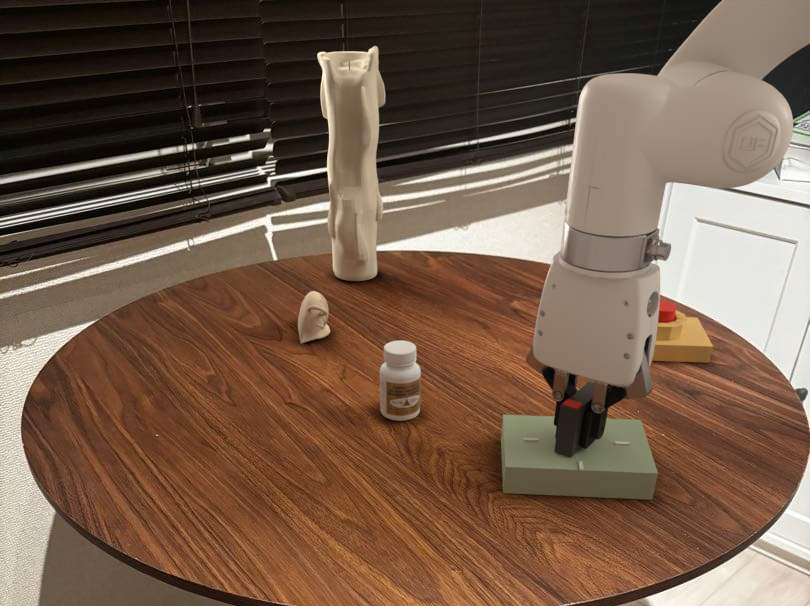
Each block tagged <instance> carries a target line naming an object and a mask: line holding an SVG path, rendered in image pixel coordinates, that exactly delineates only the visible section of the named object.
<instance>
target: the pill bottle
mask: <svg viewBox="0 0 810 606" xmlns="http://www.w3.org/2000/svg"><path fill="white" fill-rule="evenodd" d="M383 361H384V362H383V363H382V364H381V366H380V368H379V406H380V407H379V408H380V409H379V410H380V413H381V415H382V416H383V417H384V418H386V419H388V420H391V421H397V422H403V421H409V420H412V419H414V418H416V417H417V416H418V415H419V414H420V411H421V387H422V386H421V385H422V384H421V383H422V382H421V381H422V378H421V377H422V370H421V367H420V365H419V364H418V363H417V345H416V344H415V343H414V342H411V341H408V340H392V341H389V342H387V343H385V345H383Z"/></svg>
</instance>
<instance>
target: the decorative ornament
mask: <svg viewBox="0 0 810 606" xmlns="http://www.w3.org/2000/svg"><path fill="white" fill-rule="evenodd" d="M329 313H330V312H329V305H328V302H327V299H326V297H325V296H324V295H323V294H322V293H320V292H318V291H315V290H312V291H309V292H308V293H307V294H306V295H305V296H304V298H303V300H302V302H301V305H300V309H299V313H298V318H297V329H298V338H299V342H300V344H304V343H307V342H311V341H314V340H319V339H323V338H326V337H328V336H329V334H330V333H331V330H330V326H329V325H328V324H327V323H328V319H329V315H330V314H329Z"/></svg>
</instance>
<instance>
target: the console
mask: <svg viewBox="0 0 810 606" xmlns="http://www.w3.org/2000/svg"><path fill="white" fill-rule="evenodd" d="M554 417H555V415H553V416H552V415H551V416H549V415H526V414H503V415H502V423H501V434H500V448H501V449H500V450H501V451H500V453H501V474H502V475H501V476H502V494H515V495H535V496H536V495H537V496H556V497H559V496H560V497H579V498H581V497H582V498H600V499H601V498H602V499H625V500H626V499H628V500H647V501H649V500H650V501H652V500H653V497H654V493H655V489H656V485H657V479H658V475H659V472H658V469H657V466H656V463H655V460H654V459H655V458H654V457H653V454H652V450H651V446H650V444H649V441H648V437H647V435H646V432H645V428H644V425H643V422H642V419H630V418H629V419H628V418H626V419H625V418H607V419H606V425H605V430H604V433H603V435H602V437H601V438H600V439H599V440H597V439H596V440H595V441H594V442H593V443H592V444H591V445H590V446H589V447H588V448H587V449H584V448H580V449H579V450H578V451H577V452H576V453H575V454H574V455H573V456H572V457H568V456H565V455H562V454H559V453H556V452H554V450H555V443H556V439H555V435H556V427H557V426H555V425H554Z"/></svg>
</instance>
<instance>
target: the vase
mask: <svg viewBox="0 0 810 606" xmlns="http://www.w3.org/2000/svg"><path fill="white" fill-rule="evenodd" d="M316 56H317V61H318V63H319V65H320V67H321V71H322V76H321V83H320V106H321V112H322V116H323V118H324V119H326V120H327V124H328V150H327V158H326V159H327V160H326V170H327V171H326V172H327V182H328V191H329V208H328V214H327V231H328V235H329V236H330V238H331V250H332V252H331V254H332V271H333V273H334V276H335V277H336V278H338V279H340V280H344V281H350V282H360V281H361V282H362V281H368V280H371V279H373V278H375V277H376V276H377V275H378V259H377V257H378V256H377V255H378V254H377V236H378V235H377V234H378V222H379V221H381V220H382V219H383V214H384V203H383V202H384V201H383V198H382V196H381V193H380V190H379V189H380V188H379V179H378V173H377V150H378V143H379V137H380V136H379V134H380V112H379V110H380V109H379V108H382V107H383V106H384V105H385V104H386V90H385V89H386V88H385V83H384V80H383V78H382V75H381V72H380V71H379V65H380V64H379V63H380V61H379V47H378V46H376V45H374V46H372V47H371V48H369V49H368V51H357V50H356V51H355V50H354V51H353V50H352V51H350V50H349V51H346V50H345V51H344V50H343V51H342V50H341V51H331V52H330V51H329V52H326V51H319V52H318V53H317V55H316Z"/></svg>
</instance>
